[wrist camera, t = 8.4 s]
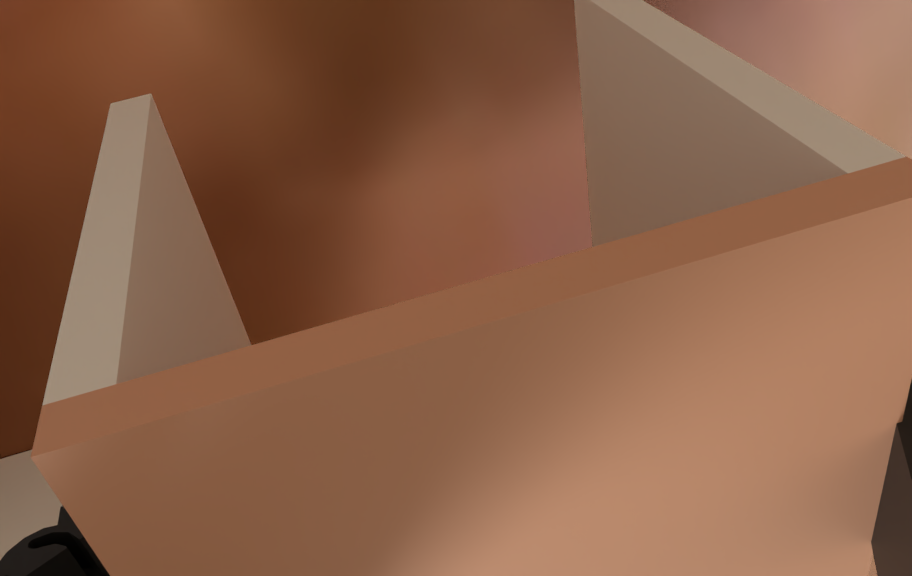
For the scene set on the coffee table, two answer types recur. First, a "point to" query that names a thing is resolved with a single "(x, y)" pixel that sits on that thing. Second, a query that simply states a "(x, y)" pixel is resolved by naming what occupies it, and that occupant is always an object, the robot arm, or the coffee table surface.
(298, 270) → the coffee table surface
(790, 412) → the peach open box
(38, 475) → the pale green cube
